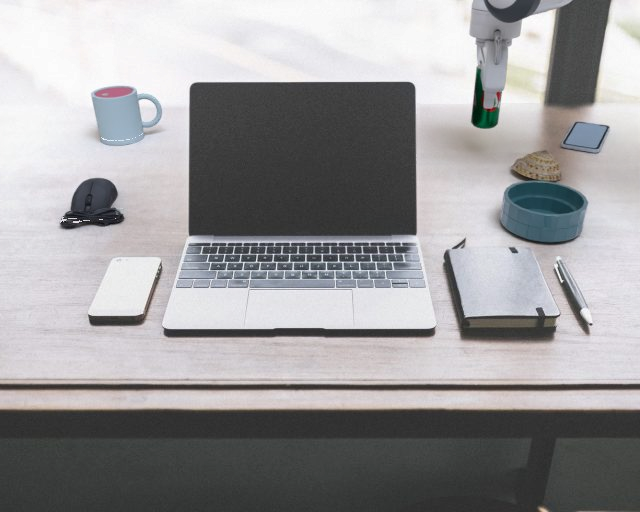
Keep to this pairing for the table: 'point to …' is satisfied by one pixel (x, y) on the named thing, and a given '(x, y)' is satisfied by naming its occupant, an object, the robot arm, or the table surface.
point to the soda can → (481, 115)
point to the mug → (121, 114)
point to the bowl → (543, 211)
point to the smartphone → (586, 136)
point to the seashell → (538, 166)
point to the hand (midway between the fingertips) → (486, 101)
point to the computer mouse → (94, 203)
